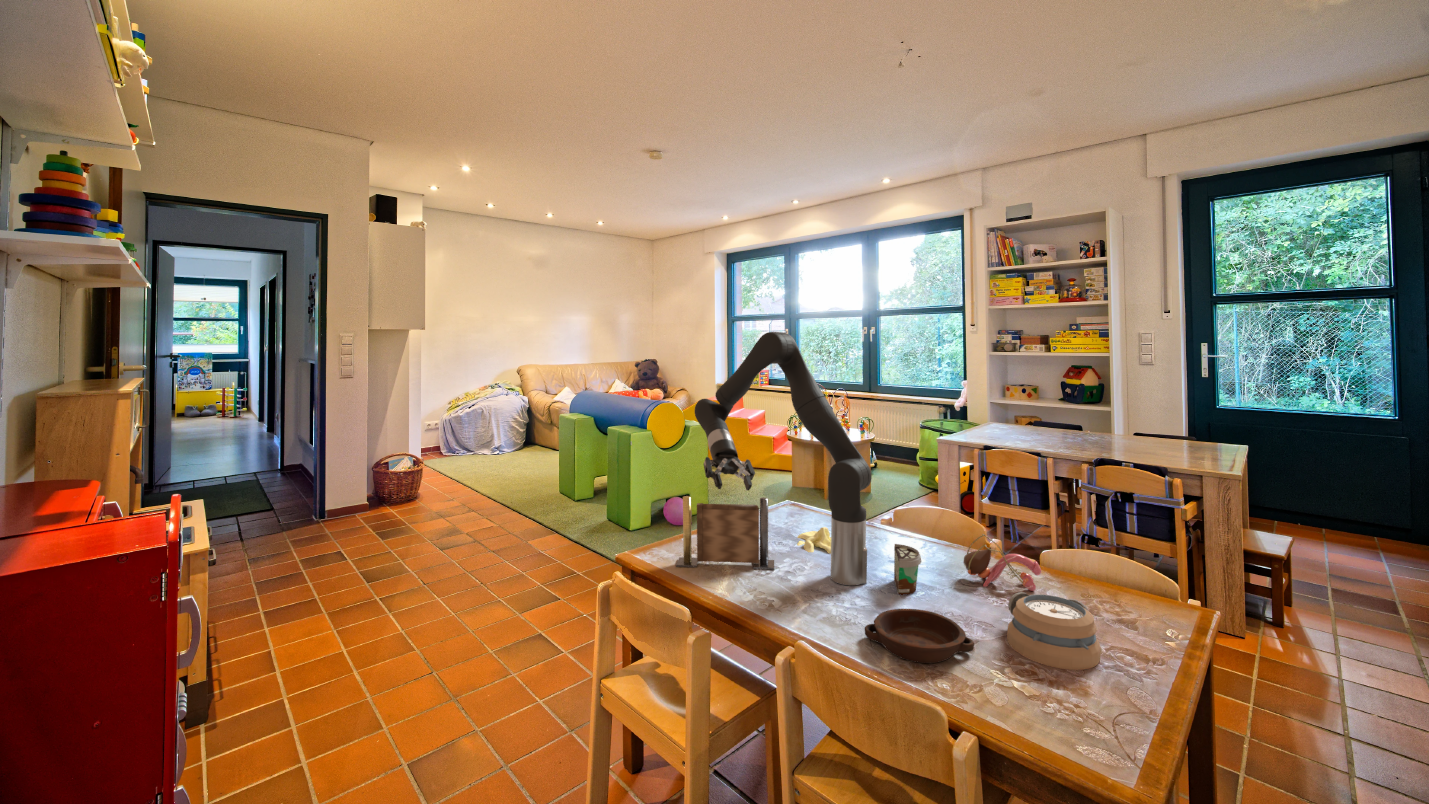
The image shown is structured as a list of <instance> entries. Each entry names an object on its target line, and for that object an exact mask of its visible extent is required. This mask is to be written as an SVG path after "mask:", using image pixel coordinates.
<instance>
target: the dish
mask: <svg viewBox="0 0 1429 804" xmlns="http://www.w3.org/2000/svg"><path fill="white" fill-rule="evenodd" d="M864 635H865V636H866V638H868V639H869V640H871V641H874V642H877V643H878V644H881V645H883V647H884V648H885V649H886V650H887V651H889V652H890V653H891V654H893V655H895V656H896V657H898V658H901V659H903V660H906V661H910V662H913V663H914V662H915V663H920V664H933V663H934V664H935V663H940V662H943V661H946V660H948V659H950V658H951V657H953V656H954V655H955V654H957V653H970V652H973V650H974V649H975V648H974V647H975V641H973V639H972V638H969V637H967V636H966V632H965V630H964V629H963V628H962V627H961V625H959V624H958V623H957V622H956V621H955V620H953V619H951V618H948V617H946V616H944V615H942V614H940V613H937V612H934V611H930V610H924V609H920V608H919V609H917V608H894V609H887V610H885V611H882V612H881V613H879V614H878V615H876V617H875V618H874V620H873V623H870V624H867V625H865V627H864Z"/></svg>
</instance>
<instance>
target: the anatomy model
mask: <svg viewBox="0 0 1429 804" xmlns="http://www.w3.org/2000/svg"><path fill="white" fill-rule="evenodd" d="M982 537H986V538H987V539H988V540H989V541H991V542H992V543H993V544H995V545H996V546H997V548H998V549H999V550H997V549H993V548H992V547H991V546H990V547H987V544H984V545H983V544H982V545H981V546H980V548H978V549H977V550H975V551H971V552H970V549H971V547H972V546H973V544H975V542H976V541H978V540H979V539H980V538H982ZM983 548H985V549H983ZM992 552H996V553H1000V554H1001V556H1002V557H1001V558H999V560H998V561H996V562H995V563H994V565H992V566H991V567H990V568H989V565H990V562H991V559H992V558H991V557H992ZM1010 563H1019V564H1021V565H1023V566H1025V567H1027V569H1029V570H1030V571H1031V572H1032V573H1033V575H1035V576H1040V575H1041V574H1042V569H1041V567H1040V564H1039V562H1038V561H1035V560H1034V561H1033V560H1032V559H1030V558H1029V557H1027V556H1024V555H1022V554H1019V553H1008V554H1004V551H1003V550H1002V548H1001V547H1000V546H999V545H998V544H997V542H995V541H994V540H993V539H991V538H990V537H989V536H987V535H986V534H984V533H982V535H980V536H978V537H977V538H975V540H974V541H972V543H971V544H970V546H969V547H968V549H967V551H966V554H965V555H964V557H963V566H964V567H965V569H966V570H967V573H968V575H970V576H976V575H977V576H978V577H979V578H981V579H985V580H984V583H983V587H988V586H989V584H991V583H994V582H996V581H997V580H998V579H999V578H1000V577H1001V576H1002V573H1003V572H1004V570H1005V568H1006V567H1008V568H1009V570H1010V572H1007V574H1008V575H1009V576H1010V580H1011V579H1013V578H1015V577H1016V578H1017V579H1018V580H1019V581H1020V582H1021V583H1022V586H1023V587H1024V588H1026V589H1027V590H1028V591H1030V592H1035V591H1036V589H1037V586H1036V584H1035V582H1034V581H1035V580H1034V579H1033V577H1032V576H1031V574H1029V573H1027V572H1024V571H1022V572H1021V571H1018V569H1017V568H1015V569H1014V567H1013V566H1012V565H1011V564H1010ZM1011 575H1012V576H1011Z"/></svg>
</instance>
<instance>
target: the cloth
mask: <svg viewBox="0 0 1429 804" xmlns="http://www.w3.org/2000/svg"><path fill="white" fill-rule="evenodd" d="M797 539H802V540H799V541H798V542H797V543H796V545H797V546H798V547H799V546H803V549H804V551H806V552H808V553H814V551H815V547H817V548H821V549H823V550H825V551H826V552H827V553H828V554H829V555H831V532H830V530H829V528H828V527H825V526H823V527H820V528H819V529H818V531H816V530H811V531H806V532H803V533H800V534H799V535H798V536H797ZM804 540H805V541H804Z"/></svg>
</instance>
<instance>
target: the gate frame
mask: <svg viewBox="0 0 1429 804" xmlns="http://www.w3.org/2000/svg"><path fill="white" fill-rule="evenodd" d="M682 530H683V531H682V533H683V534H682V535H683V536H682V537H683V538H682V540H683V542H682V543H683V548H682V549H683V556H681V557H678V559H677V561H676V564H675V567H676V568H697V567H698V565H699V562H697V557H692V556H693V555H692V548H693V547H692V541H693V540H692V496H691V495H686V496H685V495H684V496H682ZM752 567H753V570H765V571H766V570H767V571H768V570H769V571H771V570H772V571H773V570H774V571H775V559H769V498H768V497H759V563H753V566H752Z"/></svg>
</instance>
